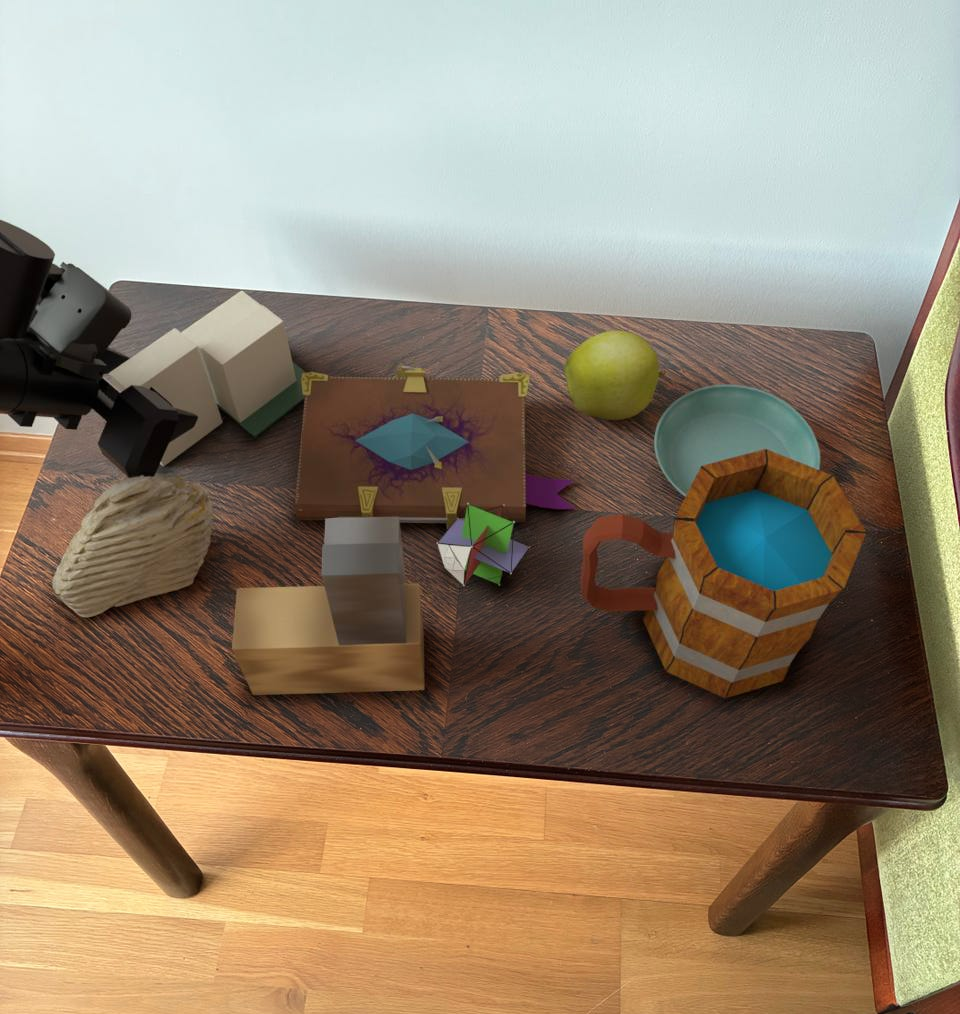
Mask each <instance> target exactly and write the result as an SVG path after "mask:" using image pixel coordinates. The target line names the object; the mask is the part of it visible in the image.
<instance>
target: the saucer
mask: <svg viewBox="0 0 960 1014" xmlns="http://www.w3.org/2000/svg"><path fill="white" fill-rule="evenodd" d="M653 446H654V448H653V449H654V453H655V457H656V461H657V463H658V465H659V468H660V470H661V471H662V473H663V475H664V477H665V478H666V479H667V481H668V482H669V483H670V484H671V486H672V487H673V488H674V489H675V490H676V491H677V492H678V493H679V494H680V495H681V496H682V497H684V498H685V497H686V495H687V493H688V491H689V489H690V487H691V485H692V483H693V481H694V479H695V477H696V475H697V473H698V471H699V469H700V467H701V466H703V465H707V464H711V463H714V462H718V461H722V460H726V459H729V458H733V457H737V456H741V455H745V454H748V453H752V452H756V451H760V450H763V449H767V450H770V451H772V452H775V453H777V454H780V455H782V456H785V457H787V458H790V459H793V460H795V461H798V462H800V463H803V464H805V465H808V466H810V467H813V468H815V469H818V470H820V468H821V451H820V445H819V442H818V440H817V437H816V434H815V433H814V430H813V429H812V428H811V426H810V425H809V423H808V422H807V420H806V418H804V417H803V415H801V413H800V412H798V411H797V410H796V409H795V408H794V407H793V406H792V405H790V404H789V403H787V402H786V401H785V400H783V399H782V398H780V397H778V396H776V395H773V394H771V393H769V392H767V391H764V390H761V389H758V388H755V387H751V386H747V385H742V384H726V383H725V384H713V385H707V386H703V387H699V388H696V389H694V390H691V391H689V392H686V393H685V394H683V395H682V396H680V397H678V398H677V399H676V400H674V401H673V402H672V403H671V404H670V405H669V406H668V407H667V408H666V409H665V410H664V412H663V413H662V415H661V416H660V418H659V420H658V422H657V424H656V428H655V432H654V440H653Z"/></svg>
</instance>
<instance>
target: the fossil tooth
mask: <svg viewBox="0 0 960 1014" xmlns="http://www.w3.org/2000/svg"><path fill="white" fill-rule="evenodd" d="M150 477H151V476H148V477H144V476H143V475H141V476H139V477H132V478H128V477H123V478H122V479H121V480H117V481H115V482H114V483H112V485H111V486H109V487H108V488H107V489H105V490H104V491H102V493H101V495H99V497H97V499H96V500H95V502H94V506H93V509H91V510H89V512H88V513H87V514H86V515H84V517H83V519H82V521H81V523H80V524H81V529H79V530H78V531H77V532H76V533H74V535H73V537H72V539H71V540H70V541H69V545H68V547H66V551H65V552H64V554H63V555H62V556H61V557H62V558H61V561H60V563H59V564H58V566H57V567H56V571H55V574H54V576H53V577H52V579H51V580H52V581H51V582H52V586H51V588H52V589H53V591H54V593H55V594H56V596H57V597H58V598H59V599H60V600H61V601H62V602H63V603H64V604H65V605H66V606H67V607H68V608H69V609H71V610H72V611H73V612H74V613H75V614H76V615H77V616H79V617H82V618H91V617H94V616H95V617H96V616H97V615H101V614H102V613H104V612H106V611H107V610H108V609H111V608H112V607H115V608H116V607H117V608H118V607H121V606H124V605H127V604H128V605H129V604H131V603H134V602H138V601H140V600H144V599H147V598H150V597H155V596H159V595H162V594H167V593H171V592H174V591H178V590H180V589H183V588H186V587H189V586H190V585H192V584H193V583H194V581H195V577H196V576H197V575H198V572H199V570H200V568H201V567H202V565H203V564H204V562H205V560H204V559H205V557H206V555H207V553H208V552H209V551H208V550H209V547H210V545H211V536H212V533H213V531H212V530H213V527H214V520H213V517H214V503H213V502H212V500H211V499H210V497H209V496H210V494H211V491H210V490H209V489H207V488H204V487H203V486H202V485H201V482H200V481H198V482H195V481H183V479H182V477H181V475H180V474H176V475H174V476H172V477H169V476H168V475H166V474H163V473H161V472H156V474H155V476H154V477H151V478H150Z"/></svg>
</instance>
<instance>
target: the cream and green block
mask: <svg viewBox="0 0 960 1014" xmlns="http://www.w3.org/2000/svg"><path fill="white" fill-rule="evenodd" d="M180 332H181V333H182V334H183V335H184V336H186V337H187V338H188V339H189V340H191V341H192V342H193V343H194V344H195V345H197V346H198V349H199V352H200V356H201V359H202V362H203V365H204V368H205V371H206V374H207V377H208V380H209V383H210V386H211V389H212V392H213V395H214V398H215V401H216V404H217V407H218V409H219V410H221V411H222V412H223V413H224V414H225V415H227V416H228V417H229V418H230V419H232V420H233V421H234V422H235V423H236V424H238V426H240V427H241V428H242V429H244V431H246V432H247V433H248V434H249V435H250V436H252V437H253V438H255V439H256V438H257V437H258V436H259V435H261V434H263V432H265V431H266V430H267V429H269V428H270V427H271V426H273V425H274V424H275V423H277V422H278V421H279V420H281V419H283V417H284V416H285V415H287V414H289V413H290V412H292V410H294V409H295V408H297V406H299V405H300V404H301V403H303V402H305V398H304V397H303V391H302V382H301V378H302V373H307V372H306V371H305V370H303V369H302V368H301V367H300V366H299V365H297V364H296V363H295V362H293V358H292V354H291V350H290V344H289V341H288V336H287V330H286V327H285V323H284V320H283V319H282V318H280V317H279V316H277V315H276V314H275V313H274V312H272V311H271V310H270V309H269V308H267V307H266V306H265V305H263V304H260V303H259V302H258V301H256V299H254V298H253V297H251V296H250V295H248V293H246V292H245V291H244V290H240V291H238V292H237V293H235V294H234V295H233V296H232V297H230V298H229V299H227V300H226V301H224V302H223V303H222V304H220V305H218V306H217V307H215V308H214V309H213V310H211V311H209V312H208V313H207V314H206V315H204V316H202V317H201V318H200V319H198V320H197V321H195V322H194V323H193V324H191V325H189V326H188V327H186V328H185V329H183V330H182V331H180Z"/></svg>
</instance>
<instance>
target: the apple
mask: <svg viewBox="0 0 960 1014" xmlns="http://www.w3.org/2000/svg"><path fill="white" fill-rule="evenodd" d="M563 369H564V370H563V371H564V377H565V382H566V386H567V391H568V394H569V397H570V398H571V399H570V400H572V402H573V405H574V407H575V408H576V410H578V411H579V412H581V413H582V414H584V415H587V416H589V417H593V418H597V419H601V420H606V421H607V420H608V421H618V420H619V421H621V420H626V419H630V418H633V417H635V416H637V415H639V414H640V413H641V412H643V411H644V410H645V409H646V408H647V407H648V406H649V405H650V404H651V402H652V399H653V397H654V394H655V391H656V388H657V386H658V382H659V378H661V379H662V378H665V377H666V371H665V370H661V371H660V363H659V357H658V355H657V353H656V351H655V349H654V348H653V347H652V346H651V344H650V343H648V342H647V340H645V338H643V337H641V336H640V335H637V334H635V333H632V332H630V331H625V330H607V331H604V332H601V333H598V334H596V335H593V336H591V337H589V338H588V339H585V340H584V341H583V342H582V343H580V344H579V345H578V346H577V347H576V348H575V349H574V350H572V352H571V353H570V354H569V356H568V357H567V359H566V361H565V364H564V368H563Z"/></svg>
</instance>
